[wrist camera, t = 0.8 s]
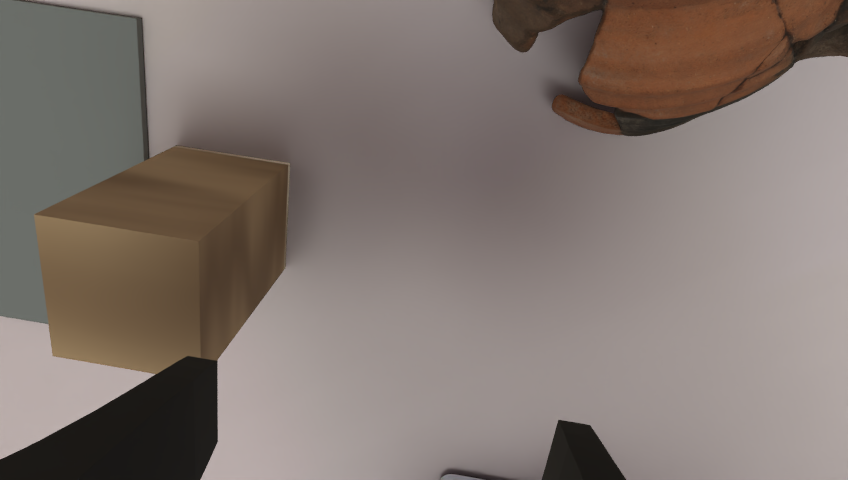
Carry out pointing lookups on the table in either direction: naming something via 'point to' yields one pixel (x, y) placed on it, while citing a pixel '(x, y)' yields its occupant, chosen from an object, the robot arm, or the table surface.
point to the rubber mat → (60, 125)
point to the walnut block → (163, 258)
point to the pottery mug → (678, 53)
